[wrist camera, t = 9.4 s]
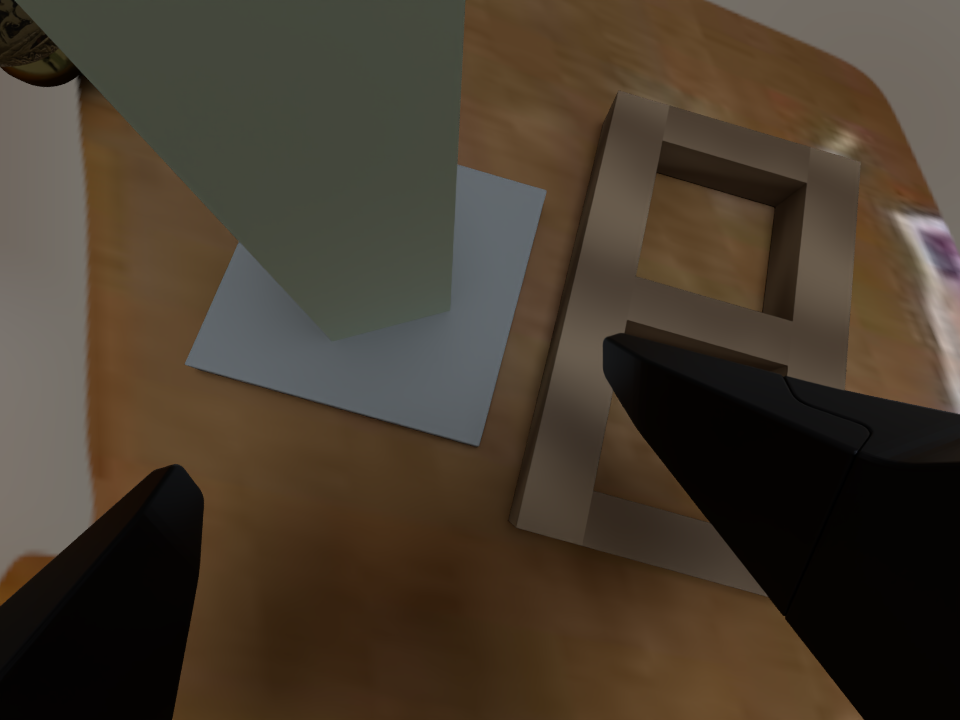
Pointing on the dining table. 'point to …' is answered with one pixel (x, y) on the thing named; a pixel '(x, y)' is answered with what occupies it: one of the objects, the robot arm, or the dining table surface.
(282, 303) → the grey mat
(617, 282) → the puzzle board
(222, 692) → the dining table surface
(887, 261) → the dining table surface
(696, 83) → the dining table surface
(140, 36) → the sage block
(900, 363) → the dining table surface
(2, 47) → the dark olive textured piece
